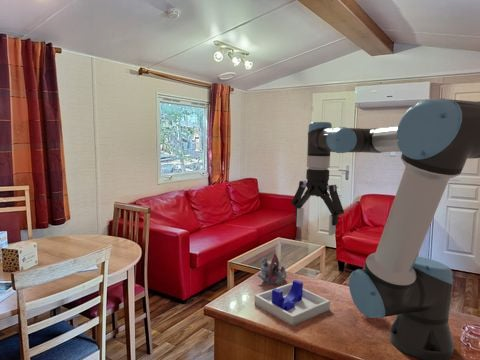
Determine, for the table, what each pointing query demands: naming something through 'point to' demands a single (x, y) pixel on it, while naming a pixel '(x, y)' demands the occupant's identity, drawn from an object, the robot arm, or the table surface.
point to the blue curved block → (288, 296)
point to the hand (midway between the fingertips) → (315, 230)
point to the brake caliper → (272, 271)
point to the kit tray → (303, 308)
